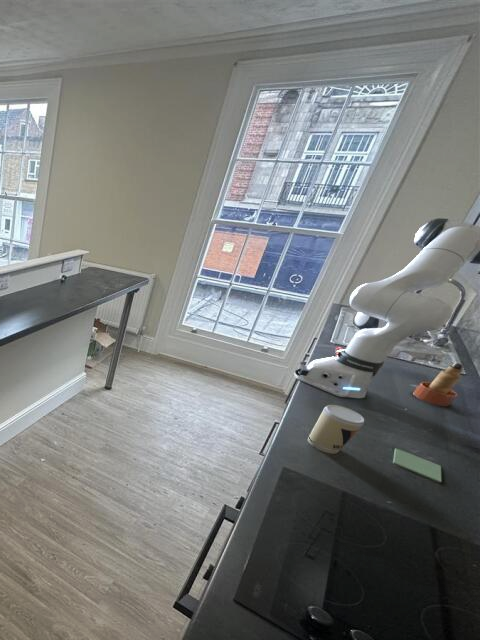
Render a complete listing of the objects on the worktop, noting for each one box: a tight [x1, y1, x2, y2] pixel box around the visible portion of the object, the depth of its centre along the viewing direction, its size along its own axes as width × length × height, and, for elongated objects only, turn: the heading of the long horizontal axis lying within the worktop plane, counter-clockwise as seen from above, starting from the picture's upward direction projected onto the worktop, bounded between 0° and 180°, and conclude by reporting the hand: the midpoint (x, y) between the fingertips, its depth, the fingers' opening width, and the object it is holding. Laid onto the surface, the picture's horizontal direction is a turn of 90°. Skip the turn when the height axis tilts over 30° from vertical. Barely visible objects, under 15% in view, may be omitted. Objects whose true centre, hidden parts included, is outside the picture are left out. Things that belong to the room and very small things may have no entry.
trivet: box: [392, 447, 443, 484], centre depth 116 cm, size 10×10×1 cm
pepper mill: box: [428, 363, 464, 395], centre depth 148 cm, size 5×5×15 cm
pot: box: [412, 381, 459, 407], centre depth 151 cm, size 10×10×5 cm
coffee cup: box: [307, 404, 365, 455], centre depth 118 cm, size 9×9×12 cm
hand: (426, 361), depth 155 cm, fingers open, 8 cm apart
